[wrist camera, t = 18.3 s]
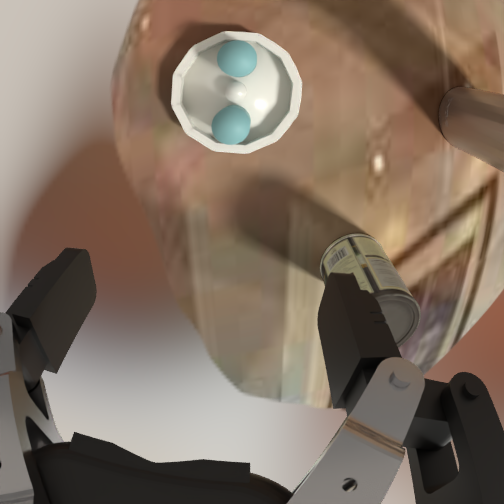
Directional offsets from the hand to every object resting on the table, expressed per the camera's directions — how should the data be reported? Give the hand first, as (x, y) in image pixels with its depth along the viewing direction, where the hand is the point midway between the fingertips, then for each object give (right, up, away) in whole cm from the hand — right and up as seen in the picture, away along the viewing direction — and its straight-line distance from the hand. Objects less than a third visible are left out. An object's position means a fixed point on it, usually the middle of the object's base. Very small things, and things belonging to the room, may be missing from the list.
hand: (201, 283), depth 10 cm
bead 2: (-1, +16, +24) cm, 29 cm away
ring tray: (0, +20, +23) cm, 31 cm away
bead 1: (0, +23, +21) cm, 31 cm away
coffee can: (+17, -1, +35) cm, 39 cm away
